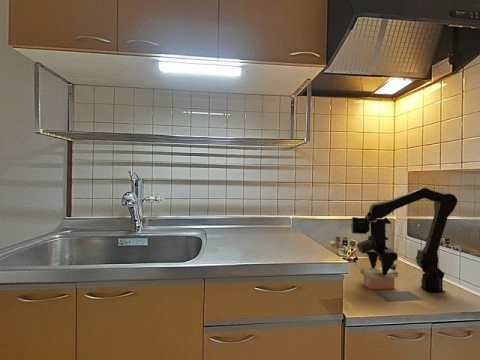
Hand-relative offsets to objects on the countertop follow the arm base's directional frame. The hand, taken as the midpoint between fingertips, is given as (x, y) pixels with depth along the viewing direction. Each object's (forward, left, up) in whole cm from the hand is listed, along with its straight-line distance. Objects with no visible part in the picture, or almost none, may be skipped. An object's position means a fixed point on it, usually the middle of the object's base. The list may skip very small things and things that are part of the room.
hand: (378, 271), depth 130 cm
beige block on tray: (0, 0, -1) cm, 1 cm away
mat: (-2, +11, -6) cm, 13 cm away
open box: (0, 0, -6) cm, 6 cm away
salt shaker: (-15, -18, -7) cm, 24 cm away
